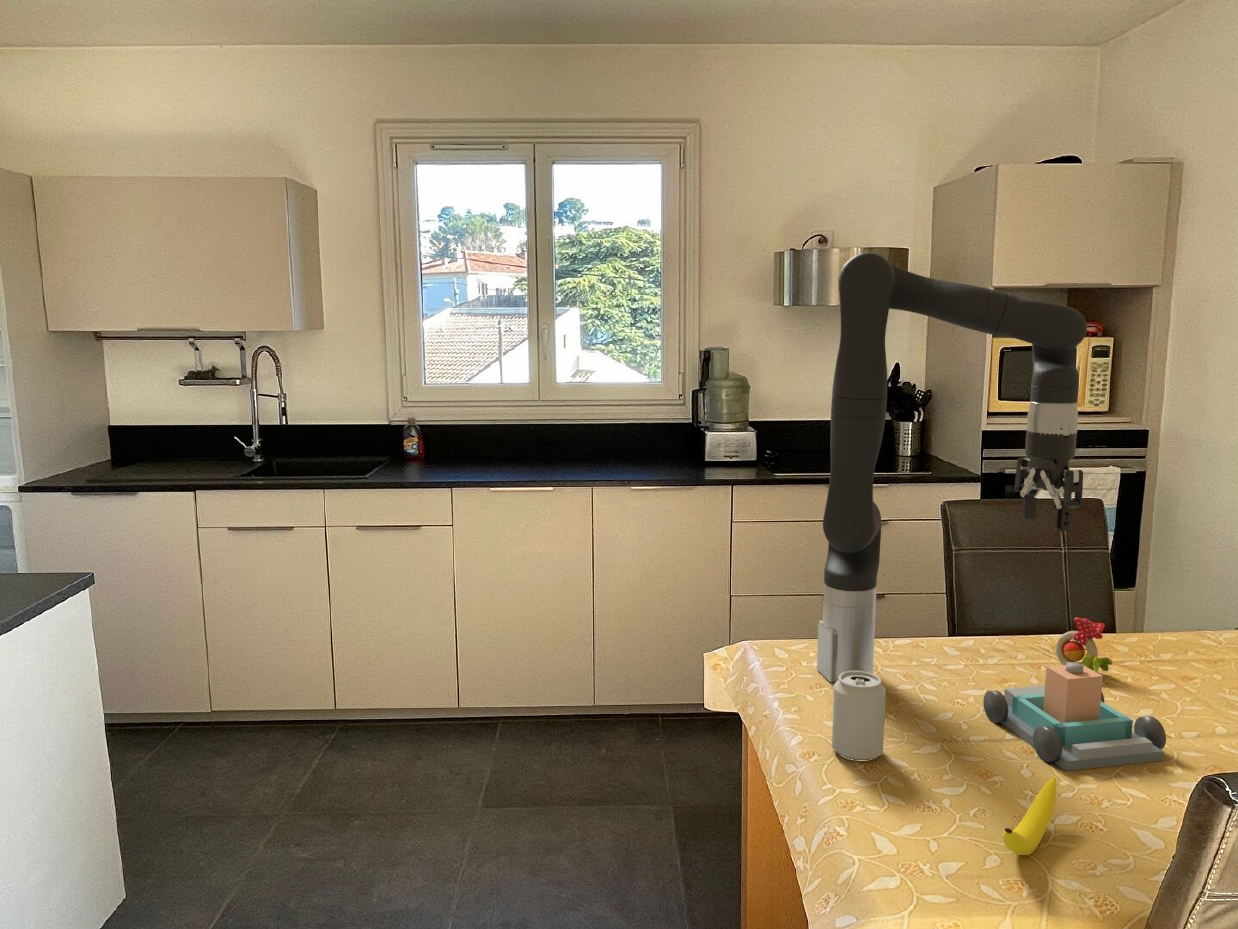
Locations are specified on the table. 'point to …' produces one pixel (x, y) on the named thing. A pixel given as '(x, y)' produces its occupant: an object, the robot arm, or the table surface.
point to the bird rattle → (1076, 651)
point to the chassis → (1076, 732)
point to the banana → (1032, 822)
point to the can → (858, 715)
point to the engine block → (1072, 693)
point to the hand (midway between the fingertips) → (1044, 524)
